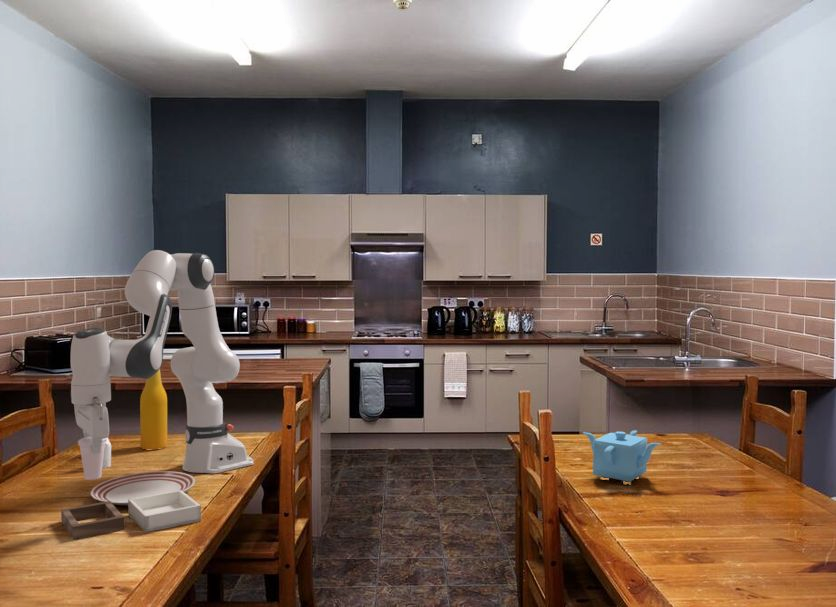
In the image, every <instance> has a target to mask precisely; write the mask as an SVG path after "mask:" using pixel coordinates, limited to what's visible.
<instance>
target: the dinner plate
mask: <svg viewBox="0 0 836 607" xmlns="http://www.w3.org/2000/svg"><path fill="white" fill-rule="evenodd" d="M195 483H196V479H195V477H194V476H193V475H191V474H187V473H185V472H180V471H169V470H167V471H165V470H160V471H159V470H157V471H156V470H154V471H143V472H136V473H135V472H134V473H130V474H124V475H122V476H121V475H120V476H117V477H114V478H111V479H108V480H105V481H103V482H100V483H99V484H97V485H96V486H94V487H93V488H92V490H90V496H91V497H92V499H94V500H96V501H98V502H100V503H101V502H107V501H110V502H111V503H112V504H113V505H118V506H125V507H128V499H133V498H139V497H145V496H150V495H156V494H161V493H167V492H172V491H178V490H182V491H183V492H184V493H186V492H188V491H189V490H191V488H192V487H193V486H194V485H195Z"/></svg>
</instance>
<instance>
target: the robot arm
mask: <svg viewBox="0 0 836 607" xmlns="http://www.w3.org/2000/svg"><path fill="white" fill-rule="evenodd" d="M214 276H215V265H214V263H213V261H212V259H211V258H210V257H209V256H208V255H207V254H204V253H199V252H194V253H188V252H187V253H184V252H183V253H181V252H179V253H178V252H177V253H173V254H170V253H169V252H166V251H164V250H160V249H155V250H150V251H149V252H147V253H146V254H145V255H144V256H143V257H142V259H141V260H139V262H138V263H137V265H136V266H135V268H134V269H133V270H132V272H131V275H130V276H129V278H128V280H127V282H126V284H125V287H124V296H125V299H126V301H127V303H128V304H129V305H130V306H131V307H132V308H133V309H134V310H136V311H137V312H139V313H140V314H144V315H146V316H148V317H149V319H148V323H147V326H146V329H145V334H144V335H143V336H142V337H140V338H137V339H119V338H114V337H111V336H110V335H108V332H107V330H106V329H104V328H100V327H94V328H93V327H91V328H85V329H80V330H78V331H77V332H75V333H74V334H73V337H72V339H71V340H72V341H71V344H70V369H71V372H72V379H71V381H70V384H71V385H70V388H71V389H70V398H71V404H73V406H74V416H75V422H76V425H77V426H78V427H79V428H80V429H81V430H82V433H83V438H85V437H91V438H92V446H91V447H92V453H93V454H99V453H100V452H101V443H102V439H104V438H108V439H109V437H110V422H109V412H108V407H107V406H106V405H107V403H108V402H110V401H112V388H111V386H112V384H111V381H112V380H111V377H116V378H117V377H118V378H119V377H120V378H135V379H140V380H141V379H142V380H146V379H148V378H151V377H152V376H153V375H154V374H156V373H157V372H158V370H159V369H160V370H161V367H162V364H163V360H164V347H165V344H166V338H167V335H168V331H169V327H170V322H171V319H172V313H173V312H172V311H173V304H172V302H173V301H172V300H171V298H170V296H168V294H169V292H170V291H177V297H178V299H177V300H178V301H177V302H178V309H179V317H180V323H181V324H180V325H181V331H182V333H183V334H184V336H185V337H187V339H188V340H189V341H190V342H191V344H192V345H193V346H190V347H183V348H179V349H177V350H176V351H175V352H173V355H172V356H171V358H170V359H171V360H170V369H171V371H172V372H171V373H173V374H174V375H175V377H177V379H178V381H179V383H180V385H181V387H182V389H183V393H184V396H185V400H186V416H187V417H186V421H187V424H186V425H185V442H186V445H185V446H186V448H185V454H184V455H185V456H184V459H183V464H182V468H181V469H182V470H183V471H185V472H187V473H188V472H189V473H196V474H197V473H199V474H203V473H205V474H213V475H214V474H218V473H219V474H220V473H224V472H227V471H232V470H236V469H237V470H238V469H240V468H245V467H250V466H252V465H254V464H255V462H254V461H255V460H254V459H253V458H252V457H251V456H249V455H248V454H247V449H246V446H245V445H244V443H243V442H241V441H240V440H239V439H238V438H236V437H234V436H233V435H231V434H230V433H229V432H232V431H233V430H234V428H235V427H234V425H232V424H231V423H230V424H229V423H226V422H224V420H223V419H224V418H223V417H224V416H223V415H224V412H223V410H224V405H223V404H224V402H223V398H222V397H221V395H219V393H218V392H217V391H216V389H215V387H214V384H221V383H222V384H223V383H228V382H232V381H234V380H235V379H236V378H237V376H238V374H239V373H240V372H239V371H240V369H241V368H240V367H241V363H240V359H239V356H237V354H235V353H234V352H233V351H232V349H230V348H229V346H228V345H227V343H226V341H225V339H224V337H223V335H222V333H221V331H220V330H221V329H220V327H219V321H218V316H217V310H216V303H215V302H216V301H215V296H214V291H213V288H212V284H211V283H212V282H213V280H214Z"/></svg>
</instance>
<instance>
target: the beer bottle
mask: <svg viewBox="0 0 836 607" xmlns="http://www.w3.org/2000/svg"><path fill="white" fill-rule="evenodd" d="M139 400H140V401H139V403H140V404H139V410H140V412H139V413H140V414H139V415H140V418H139V419H140V420H139V421H140V426H139V427H140V432H139V433H140V442H139V444H140V449H141V448H142V449H141V450H143V449H158V448H163V447H165V446H167V447H168V443H169V441H168V395H167V392H166V390H165V388H164V385H163V383H162V376H161V368H160V369H159V370H158V372H157V373H156V374H154V375H153V376H152V377H151V378H148V379H145V386H144V387H143V389H142V392H141V394H140V399H139Z"/></svg>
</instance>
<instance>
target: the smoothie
mask: <svg viewBox="0 0 836 607" xmlns="http://www.w3.org/2000/svg"><path fill="white" fill-rule="evenodd" d="M105 443H106V438H104V439H102V443H101V452H100V453H99V454H93V453H92V447H91V446H92V438H91V437H85V438H84V437H81V438H80V439H78V441H77V446H79V450H80V457H81V462H82V470H83V473H84V474H83V475H84V479H85V480H86V481H87V480H88V481H89V480H90V481H91V480H92V481H93V480H98V479H100V478H102V474H103V469H102V466H103V457H104V448H105Z"/></svg>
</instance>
